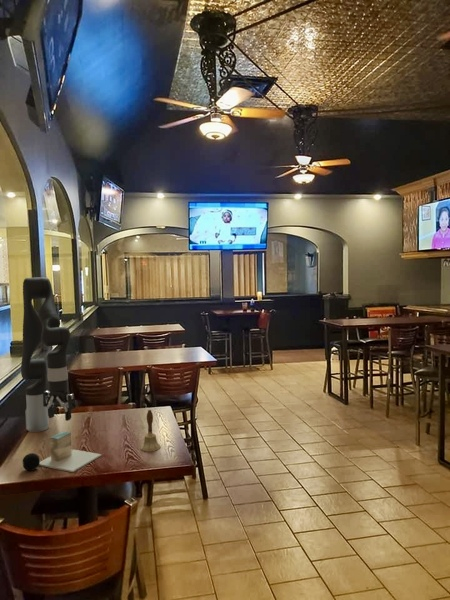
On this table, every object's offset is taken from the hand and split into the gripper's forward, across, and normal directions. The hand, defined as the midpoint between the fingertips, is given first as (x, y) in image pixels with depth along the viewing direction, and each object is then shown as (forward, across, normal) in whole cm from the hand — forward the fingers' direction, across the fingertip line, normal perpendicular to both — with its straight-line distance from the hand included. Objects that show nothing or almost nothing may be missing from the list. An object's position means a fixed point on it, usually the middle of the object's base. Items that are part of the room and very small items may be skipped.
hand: (59, 418), depth 181 cm
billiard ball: (+16, -4, -12) cm, 21 cm away
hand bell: (+16, +27, +22) cm, 38 cm away
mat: (+16, +4, 0) cm, 17 cm away
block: (+15, 0, 0) cm, 16 cm away
